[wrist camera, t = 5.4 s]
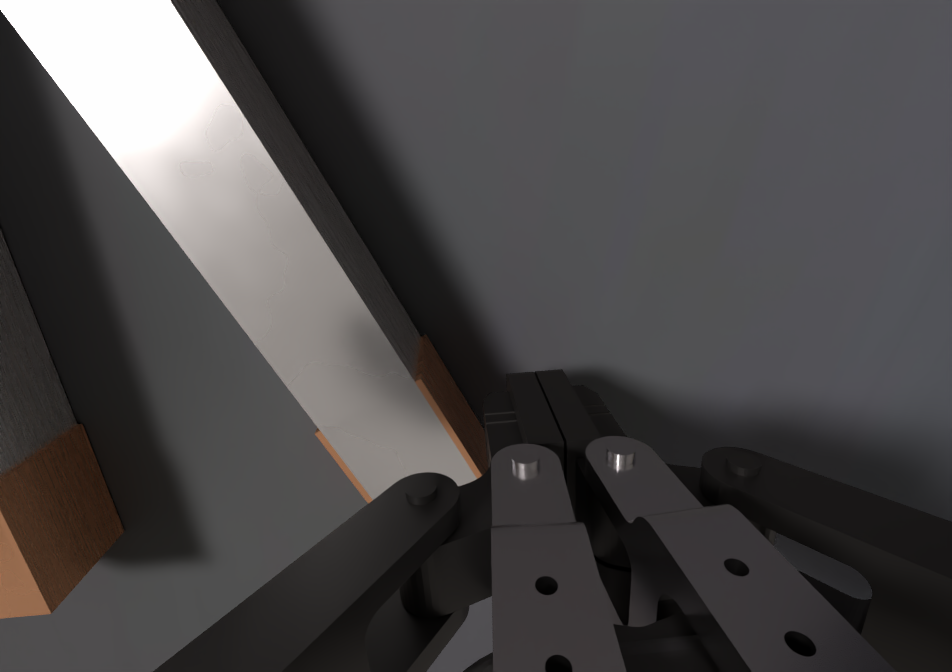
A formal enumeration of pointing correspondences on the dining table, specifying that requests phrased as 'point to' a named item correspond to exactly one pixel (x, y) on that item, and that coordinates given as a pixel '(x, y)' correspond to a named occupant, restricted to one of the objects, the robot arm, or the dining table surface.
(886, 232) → the dining table surface
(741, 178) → the dining table surface
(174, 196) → the tong arm
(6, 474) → the base
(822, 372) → the dining table surface
